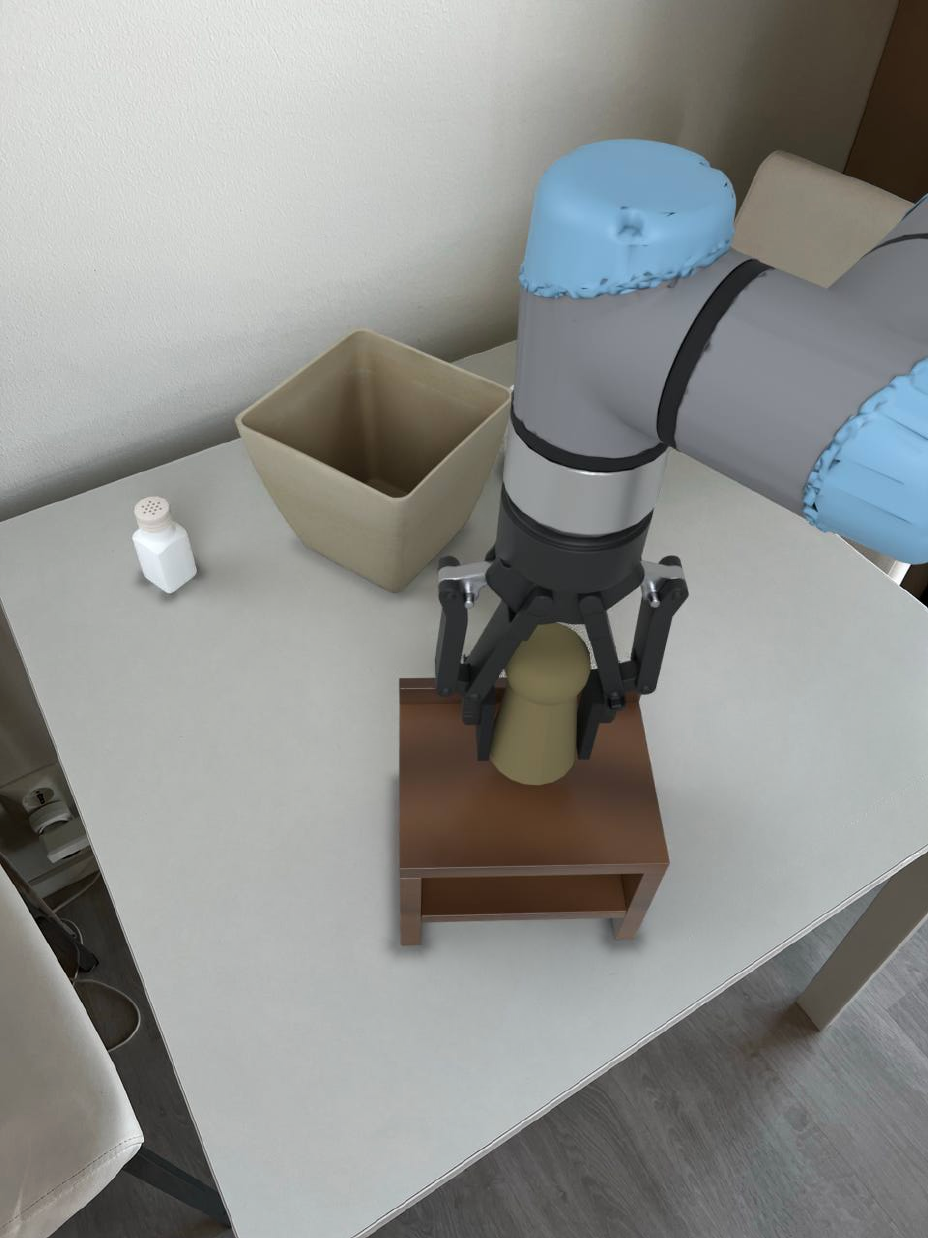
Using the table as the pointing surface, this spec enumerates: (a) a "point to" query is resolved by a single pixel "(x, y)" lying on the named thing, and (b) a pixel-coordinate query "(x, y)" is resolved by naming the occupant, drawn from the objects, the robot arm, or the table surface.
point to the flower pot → (376, 452)
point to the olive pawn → (541, 706)
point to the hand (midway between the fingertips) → (532, 742)
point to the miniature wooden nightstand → (522, 825)
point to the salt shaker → (162, 545)
